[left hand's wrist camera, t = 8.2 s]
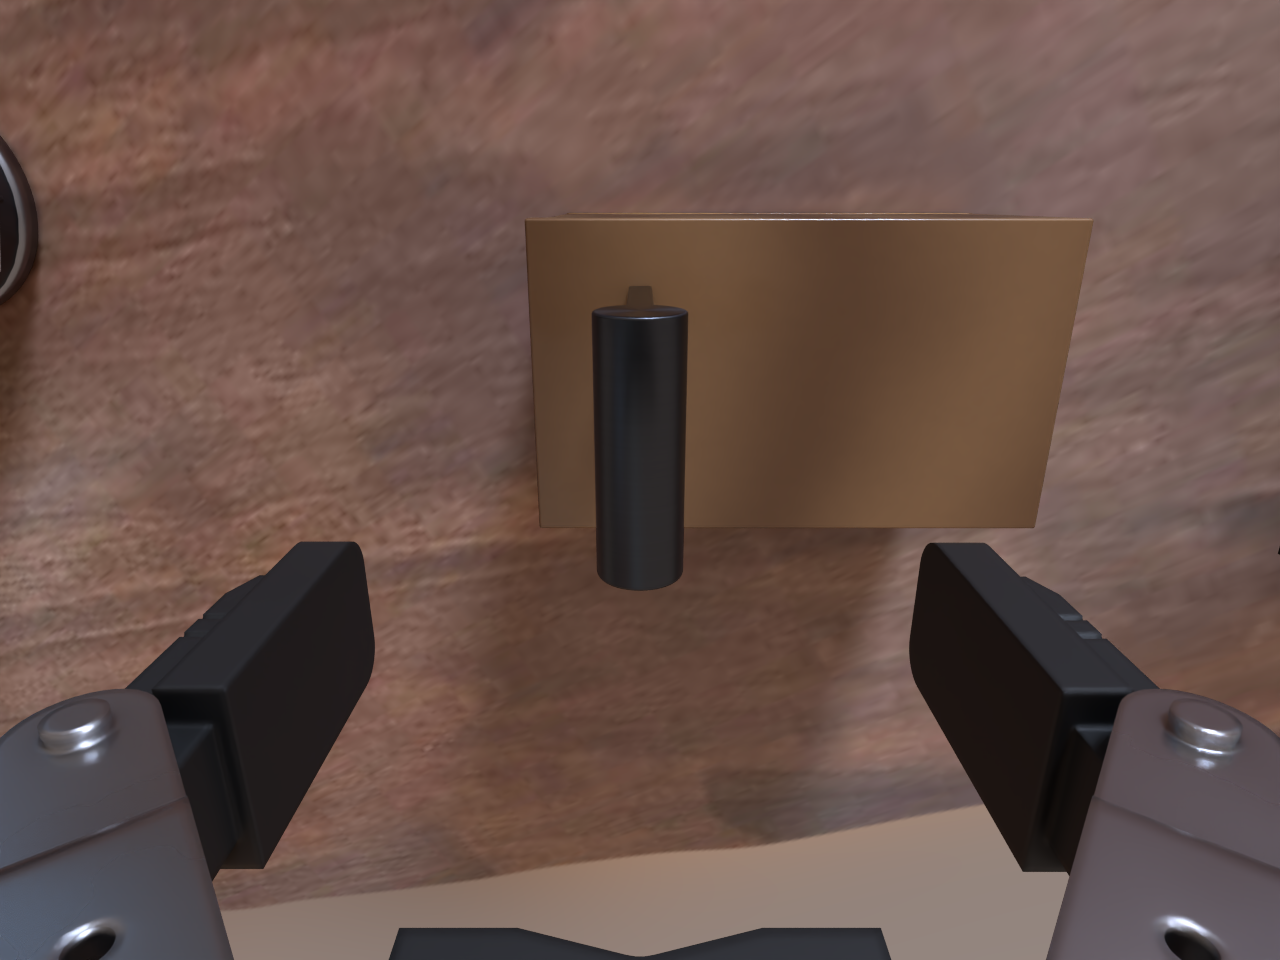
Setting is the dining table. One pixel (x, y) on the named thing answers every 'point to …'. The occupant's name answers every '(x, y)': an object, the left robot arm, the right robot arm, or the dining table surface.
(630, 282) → the lid
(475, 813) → the dining table surface
